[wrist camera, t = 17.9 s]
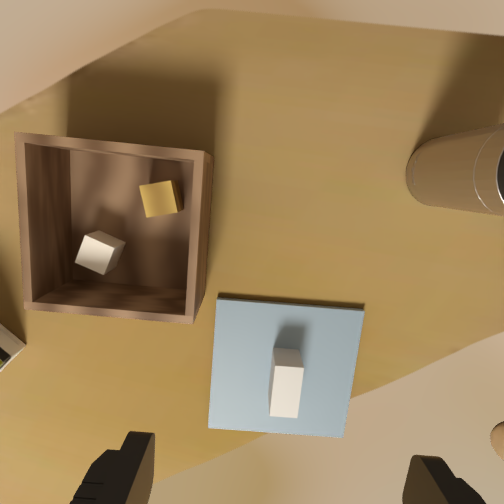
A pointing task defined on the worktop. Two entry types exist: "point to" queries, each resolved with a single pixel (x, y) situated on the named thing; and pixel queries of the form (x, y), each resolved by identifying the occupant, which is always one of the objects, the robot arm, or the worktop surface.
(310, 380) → the lid
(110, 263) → the off-white block
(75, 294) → the box
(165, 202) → the mustard block
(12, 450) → the worktop surface
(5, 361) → the tea box
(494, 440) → the plastic bottle
